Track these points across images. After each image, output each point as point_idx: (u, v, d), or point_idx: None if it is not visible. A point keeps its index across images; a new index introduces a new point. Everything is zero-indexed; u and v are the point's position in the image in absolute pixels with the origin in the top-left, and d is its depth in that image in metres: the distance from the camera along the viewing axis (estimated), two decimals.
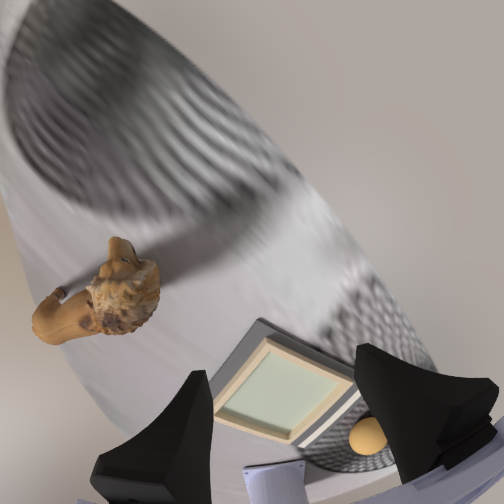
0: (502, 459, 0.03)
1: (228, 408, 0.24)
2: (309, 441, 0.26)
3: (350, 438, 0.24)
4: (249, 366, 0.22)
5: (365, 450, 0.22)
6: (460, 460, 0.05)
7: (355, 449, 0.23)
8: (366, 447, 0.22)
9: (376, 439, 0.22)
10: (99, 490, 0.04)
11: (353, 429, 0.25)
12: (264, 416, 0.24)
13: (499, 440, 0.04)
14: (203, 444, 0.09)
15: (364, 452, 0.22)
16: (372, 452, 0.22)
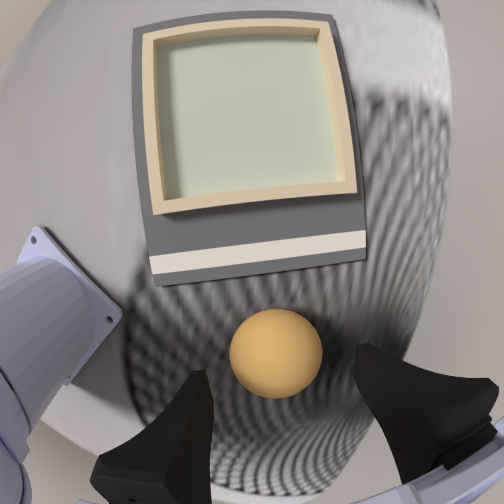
0: (502, 459, 0.03)
1: (171, 60, 0.12)
2: (174, 264, 0.14)
3: (251, 319, 0.13)
4: (282, 20, 0.11)
5: (267, 360, 0.12)
6: (460, 460, 0.05)
7: (243, 347, 0.12)
8: (274, 354, 0.12)
9: (305, 351, 0.12)
10: (99, 490, 0.04)
11: (264, 310, 0.14)
12: (188, 118, 0.13)
13: (499, 440, 0.04)
14: (203, 444, 0.09)
15: (257, 367, 0.12)
16: (272, 380, 0.12)
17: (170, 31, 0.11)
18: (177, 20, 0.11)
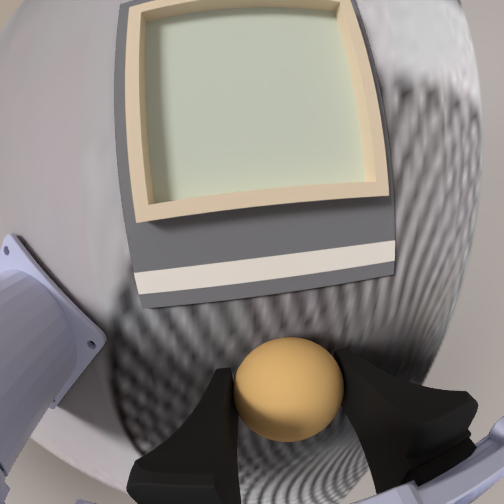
0: (502, 459, 0.03)
1: (162, 36, 0.09)
2: (165, 283, 0.12)
3: (259, 352, 0.11)
4: None
5: (279, 406, 0.09)
6: (432, 477, 0.04)
7: (250, 388, 0.09)
8: (288, 399, 0.09)
9: (326, 393, 0.09)
10: (135, 497, 0.04)
11: (275, 340, 0.11)
12: (181, 102, 0.10)
13: (499, 440, 0.04)
14: (232, 442, 0.09)
15: (267, 412, 0.09)
16: (285, 428, 0.09)
17: (161, 2, 0.08)
18: None
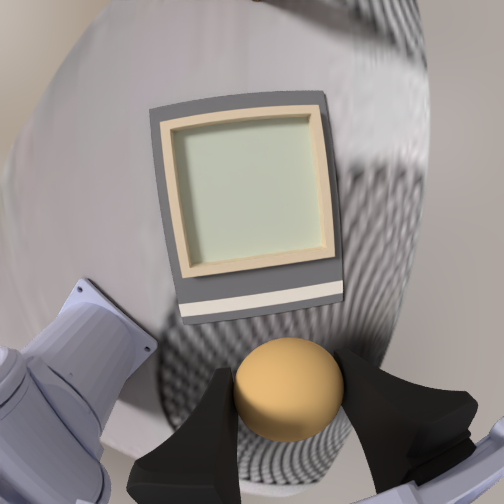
0: (502, 459, 0.03)
1: (186, 146, 0.17)
2: (198, 310, 0.19)
3: (259, 352, 0.11)
4: (278, 107, 0.16)
5: (280, 406, 0.09)
6: (432, 477, 0.04)
7: (250, 388, 0.09)
8: (289, 399, 0.09)
9: (326, 393, 0.09)
10: (135, 497, 0.04)
11: (275, 340, 0.11)
12: (204, 200, 0.18)
13: (499, 440, 0.04)
14: (232, 442, 0.09)
15: (268, 413, 0.09)
16: (285, 428, 0.09)
17: (183, 121, 0.16)
18: (188, 103, 0.16)
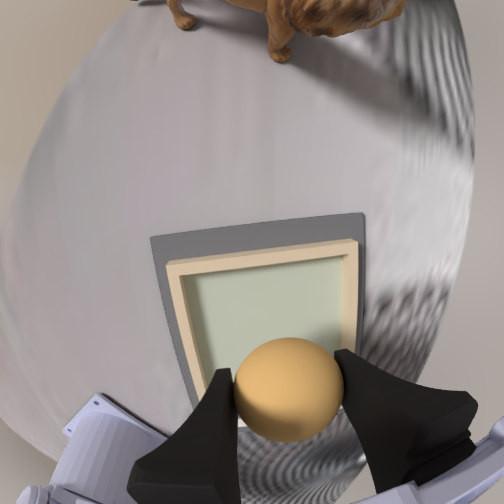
0: (502, 459, 0.03)
1: (200, 289, 0.15)
2: None
3: (259, 352, 0.11)
4: (311, 249, 0.14)
5: (279, 406, 0.09)
6: (432, 477, 0.04)
7: (250, 388, 0.09)
8: (289, 399, 0.09)
9: (326, 393, 0.09)
10: (135, 497, 0.04)
11: (275, 340, 0.11)
12: (222, 344, 0.16)
13: (499, 440, 0.04)
14: (232, 442, 0.09)
15: (268, 413, 0.09)
16: (285, 428, 0.09)
17: (195, 267, 0.14)
18: (198, 234, 0.15)
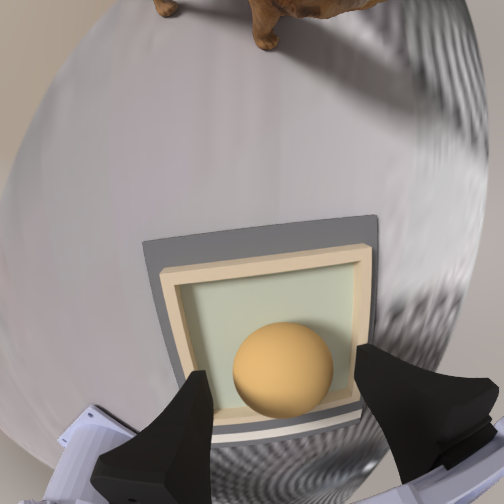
0: (502, 459, 0.03)
1: (197, 299, 0.14)
2: (217, 439, 0.16)
3: (256, 334, 0.12)
4: (321, 256, 0.13)
5: (274, 381, 0.10)
6: (460, 460, 0.05)
7: (248, 366, 0.11)
8: (282, 374, 0.10)
9: (316, 370, 0.10)
10: (99, 490, 0.04)
11: (271, 324, 0.13)
12: (222, 358, 0.15)
13: (499, 440, 0.04)
14: (203, 444, 0.09)
15: (264, 388, 0.10)
16: (279, 402, 0.10)
17: (192, 275, 0.12)
18: (195, 238, 0.13)
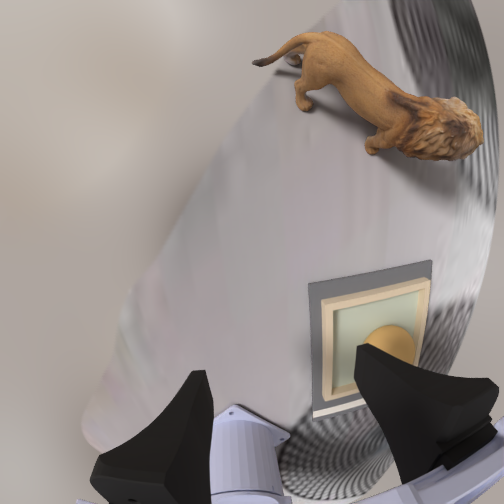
0: (502, 459, 0.03)
1: (338, 316, 0.21)
2: (325, 412, 0.24)
3: (378, 334, 0.20)
4: (407, 287, 0.20)
5: (395, 356, 0.18)
6: (460, 460, 0.05)
7: None
8: (399, 352, 0.18)
9: (411, 349, 0.18)
10: (99, 490, 0.04)
11: (382, 327, 0.20)
12: (345, 351, 0.22)
13: (499, 440, 0.04)
14: (203, 444, 0.09)
15: None
16: None
17: (344, 304, 0.20)
18: (342, 280, 0.21)
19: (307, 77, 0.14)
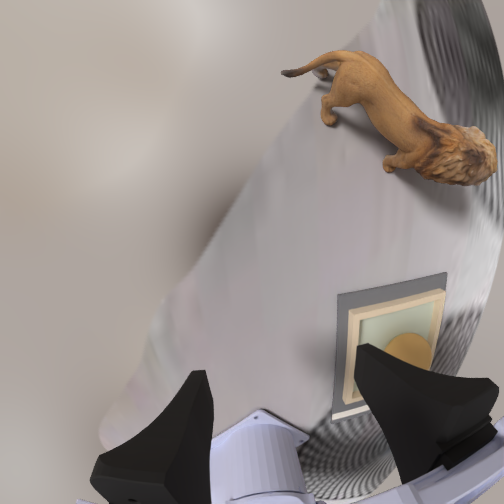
0: (502, 459, 0.03)
1: (362, 325, 0.22)
2: (344, 415, 0.25)
3: (399, 341, 0.20)
4: (425, 298, 0.21)
5: (416, 362, 0.18)
6: (460, 460, 0.05)
7: (402, 357, 0.19)
8: (419, 358, 0.18)
9: (429, 354, 0.19)
10: (99, 490, 0.04)
11: (402, 335, 0.21)
12: None
13: (499, 440, 0.04)
14: (203, 444, 0.09)
15: None
16: None
17: (370, 314, 0.21)
18: (368, 292, 0.21)
19: (337, 94, 0.14)
